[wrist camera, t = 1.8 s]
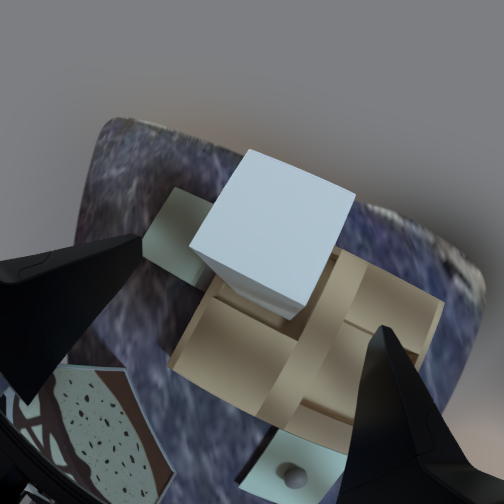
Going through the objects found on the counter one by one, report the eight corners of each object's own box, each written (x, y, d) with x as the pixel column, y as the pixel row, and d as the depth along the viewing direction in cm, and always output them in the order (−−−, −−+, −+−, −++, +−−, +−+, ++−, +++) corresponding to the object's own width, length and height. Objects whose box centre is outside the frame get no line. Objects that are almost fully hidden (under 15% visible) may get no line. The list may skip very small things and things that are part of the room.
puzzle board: (314, 511, 15) (316, 525, 13) (77, 377, 19) (62, 378, 17) (431, 306, 18) (444, 302, 16) (180, 184, 23) (172, 172, 21)
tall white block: (289, 320, 19) (305, 306, 8) (237, 293, 20) (188, 246, 9) (316, 267, 20) (355, 194, 9) (264, 242, 20) (249, 148, 10)
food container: (67, 369, 19) (-23, 372, 10) (119, 349, 20) (24, 350, 10) (126, 494, 16) (62, 546, 6) (185, 487, 16) (133, 558, 7)
